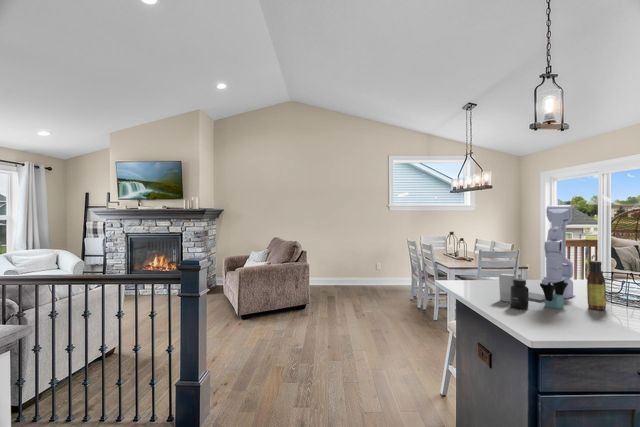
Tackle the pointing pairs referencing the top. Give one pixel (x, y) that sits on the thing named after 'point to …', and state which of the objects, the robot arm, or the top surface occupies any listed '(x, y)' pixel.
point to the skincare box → (505, 286)
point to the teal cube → (555, 301)
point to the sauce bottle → (596, 287)
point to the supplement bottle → (519, 294)
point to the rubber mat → (536, 297)
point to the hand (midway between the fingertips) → (553, 299)
